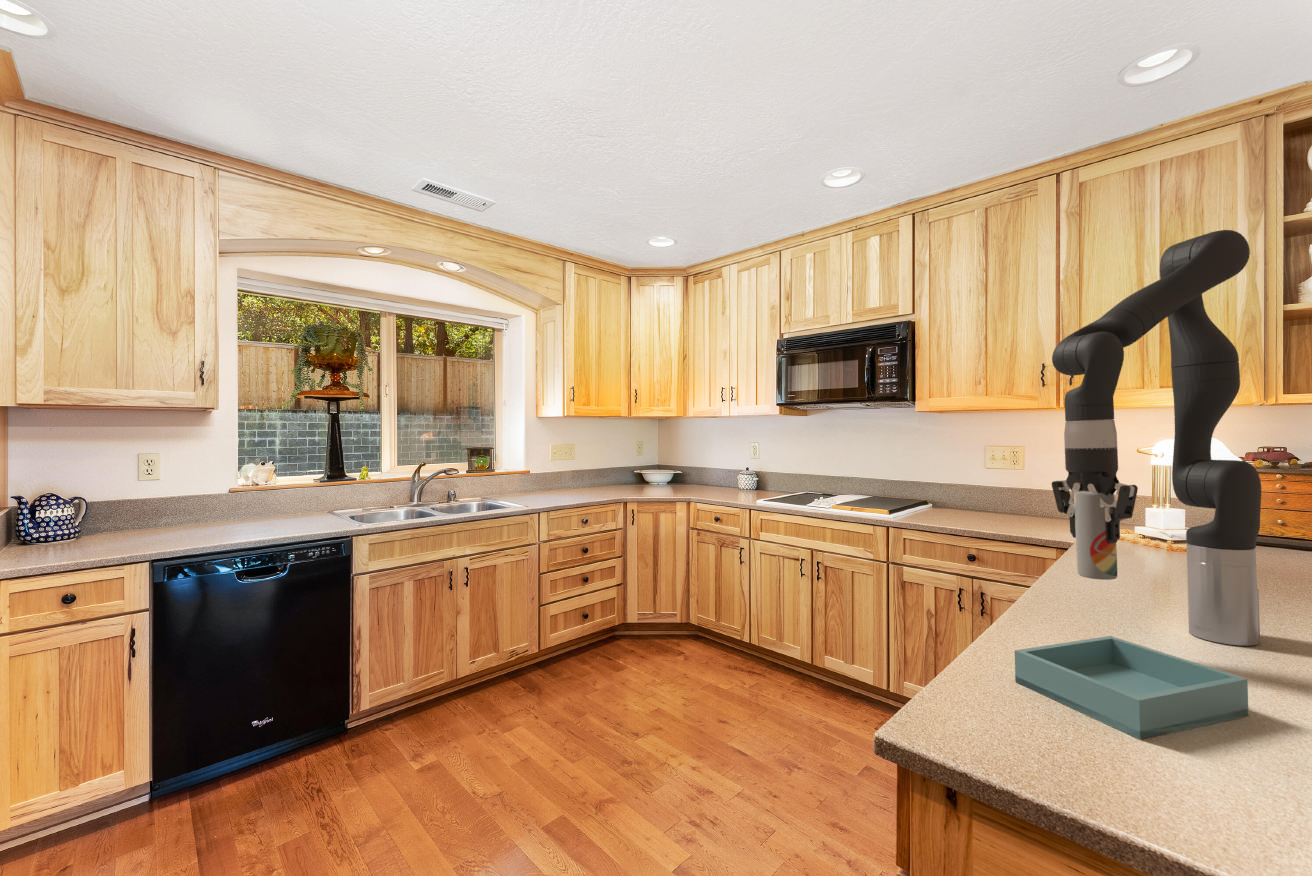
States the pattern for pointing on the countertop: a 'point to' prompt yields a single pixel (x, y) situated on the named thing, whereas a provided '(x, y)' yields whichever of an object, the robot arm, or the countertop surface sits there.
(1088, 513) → the lotion bottle
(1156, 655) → the tray
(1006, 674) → the countertop surface
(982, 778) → the countertop surface
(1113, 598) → the countertop surface
